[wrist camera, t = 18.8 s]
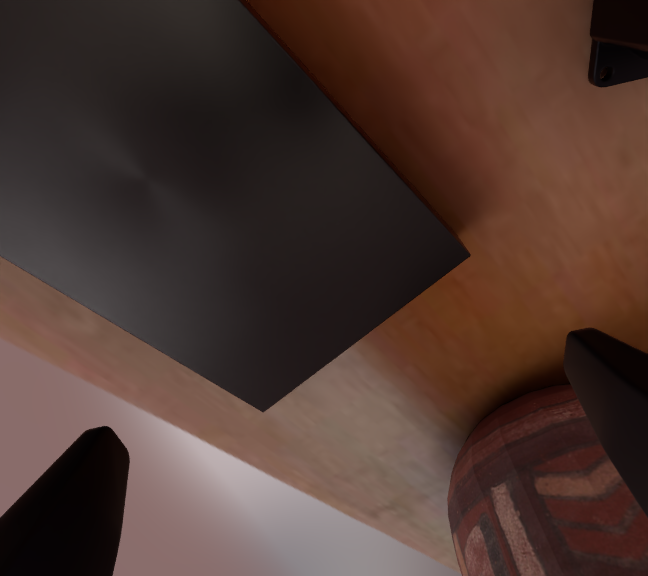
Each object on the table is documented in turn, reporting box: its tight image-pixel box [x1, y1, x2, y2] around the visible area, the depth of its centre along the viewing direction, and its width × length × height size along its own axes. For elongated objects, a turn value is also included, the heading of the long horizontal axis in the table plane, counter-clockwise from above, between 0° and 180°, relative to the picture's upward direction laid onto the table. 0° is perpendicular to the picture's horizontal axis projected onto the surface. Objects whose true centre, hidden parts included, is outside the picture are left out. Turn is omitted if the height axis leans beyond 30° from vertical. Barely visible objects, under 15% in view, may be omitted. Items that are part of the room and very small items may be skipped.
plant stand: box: [0, 0, 471, 412], centre depth 15 cm, size 36×14×2 cm, turn 44°
